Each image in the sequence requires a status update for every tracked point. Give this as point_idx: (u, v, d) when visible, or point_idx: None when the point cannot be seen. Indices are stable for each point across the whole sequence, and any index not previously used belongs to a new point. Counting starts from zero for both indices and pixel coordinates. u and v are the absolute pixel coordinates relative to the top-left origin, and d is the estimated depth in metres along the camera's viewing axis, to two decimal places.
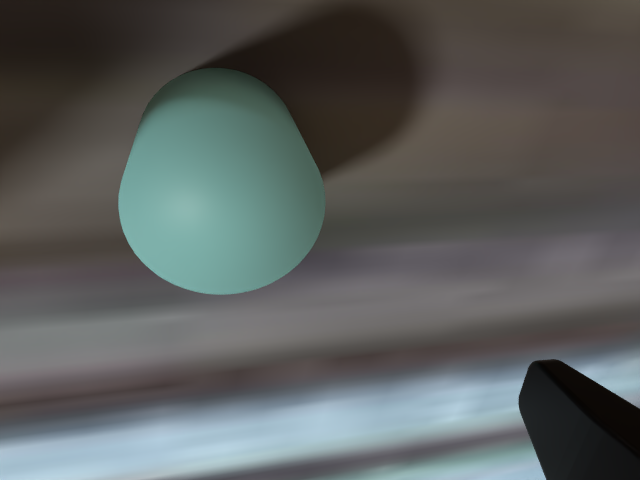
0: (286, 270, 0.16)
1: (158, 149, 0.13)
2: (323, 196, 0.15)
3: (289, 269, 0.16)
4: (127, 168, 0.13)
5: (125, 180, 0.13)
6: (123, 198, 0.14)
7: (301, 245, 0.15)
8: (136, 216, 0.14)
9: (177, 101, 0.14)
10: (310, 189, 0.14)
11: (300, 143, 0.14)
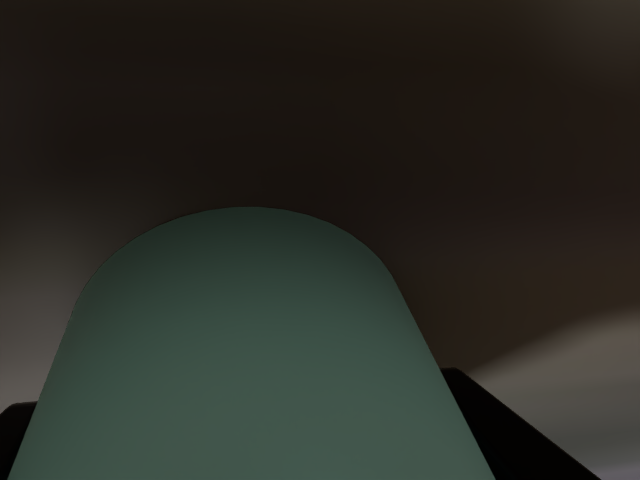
0: None
1: None
2: None
3: None
4: None
5: None
6: None
7: None
8: None
9: (122, 399, 0.05)
10: None
11: None
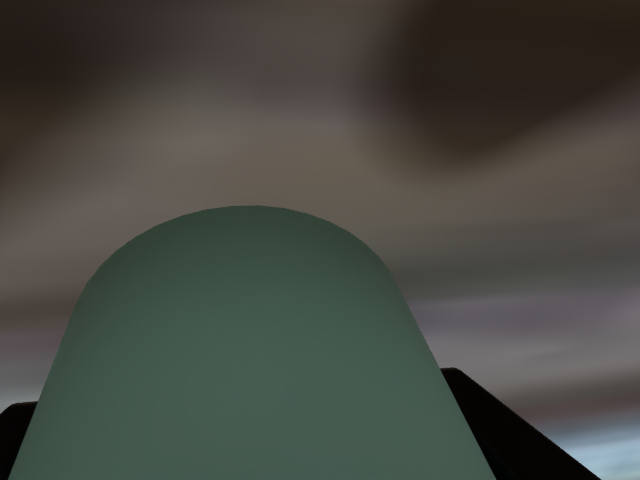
0: None
1: None
2: None
3: None
4: None
5: None
6: None
7: None
8: None
9: (123, 396, 0.05)
10: None
11: None
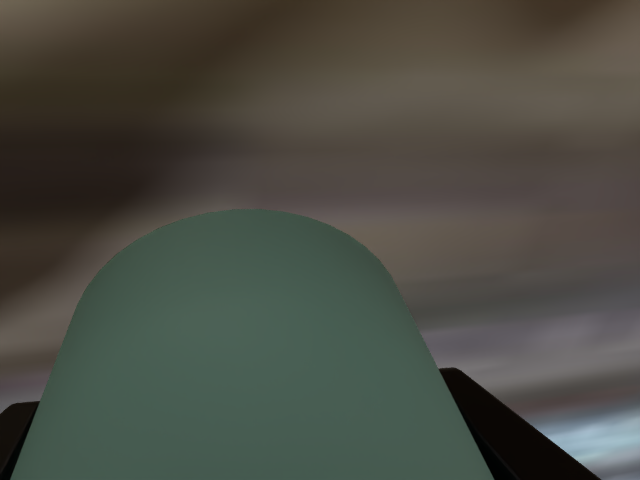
0: None
1: None
2: None
3: None
4: None
5: None
6: None
7: None
8: None
9: (124, 402, 0.05)
10: None
11: None
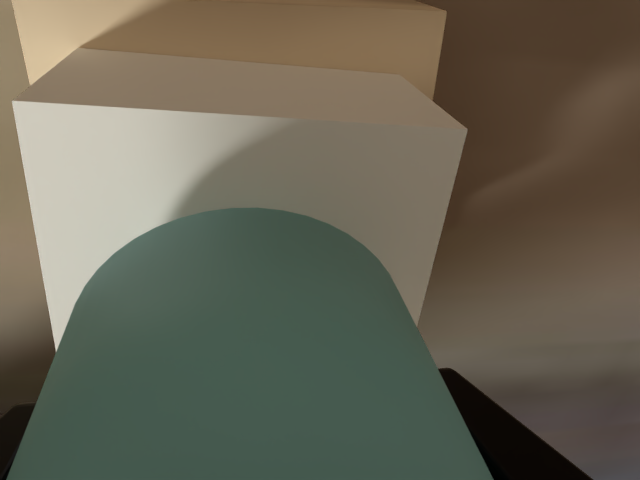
0: None
1: None
2: None
3: None
4: None
5: None
6: None
7: None
8: None
9: (120, 401, 0.05)
10: None
11: None
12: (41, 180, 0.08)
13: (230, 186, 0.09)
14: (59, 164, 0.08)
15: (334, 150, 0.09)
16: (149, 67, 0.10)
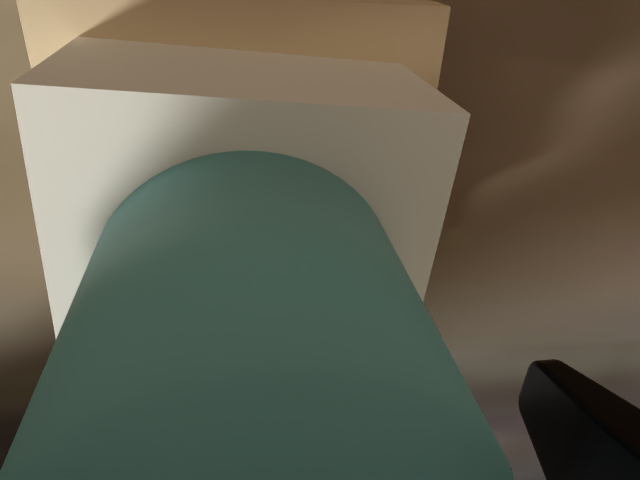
0: None
1: (72, 471, 0.04)
2: None
3: None
4: None
5: None
6: None
7: None
8: None
9: (146, 277, 0.06)
10: None
11: (475, 421, 0.05)
12: (41, 165, 0.08)
13: None
14: (59, 149, 0.08)
15: (335, 135, 0.09)
16: (149, 54, 0.10)
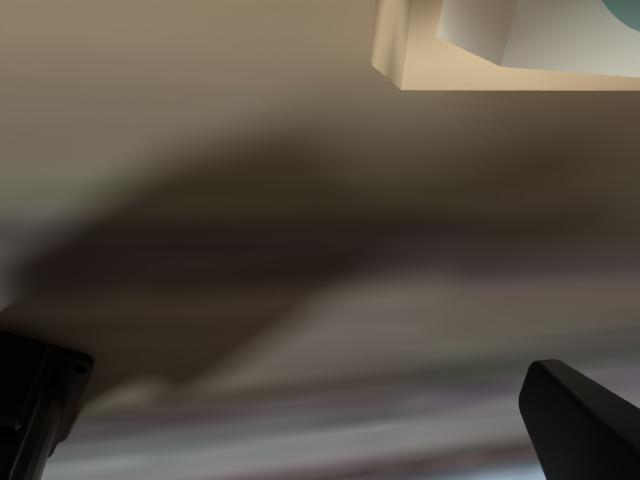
0: None
1: None
2: None
3: None
4: None
5: None
6: None
7: None
8: None
9: None
10: None
11: None
12: None
13: None
14: None
15: None
16: None
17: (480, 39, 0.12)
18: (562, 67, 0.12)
